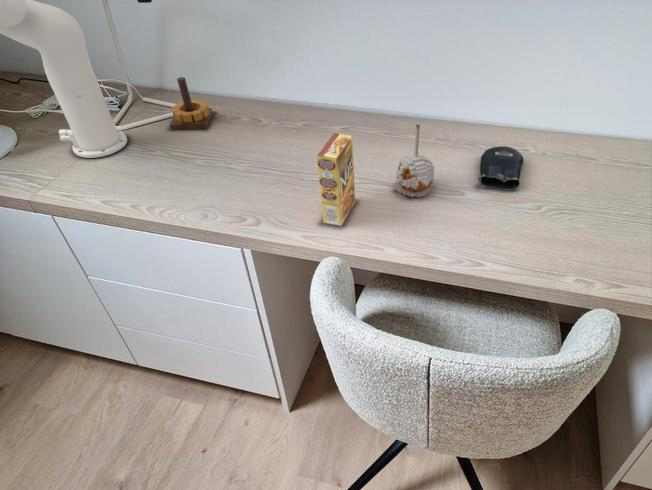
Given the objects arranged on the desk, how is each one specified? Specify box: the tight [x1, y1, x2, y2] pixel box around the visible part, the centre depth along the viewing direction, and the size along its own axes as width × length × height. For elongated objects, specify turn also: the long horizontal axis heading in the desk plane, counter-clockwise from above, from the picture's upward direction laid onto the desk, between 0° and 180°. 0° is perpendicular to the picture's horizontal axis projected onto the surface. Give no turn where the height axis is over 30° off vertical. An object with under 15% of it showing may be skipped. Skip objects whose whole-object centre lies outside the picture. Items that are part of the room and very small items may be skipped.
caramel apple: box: [395, 122, 435, 198], centre depth 101 cm, size 8×8×15 cm
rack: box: [169, 76, 214, 131], centre depth 127 cm, size 9×9×12 cm
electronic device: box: [477, 145, 524, 191], centre depth 110 cm, size 9×6×15 cm
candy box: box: [316, 132, 356, 227], centre depth 95 cm, size 9×4×15 cm, turn 162°
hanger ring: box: [171, 99, 210, 123], centre depth 130 cm, size 9×9×2 cm
